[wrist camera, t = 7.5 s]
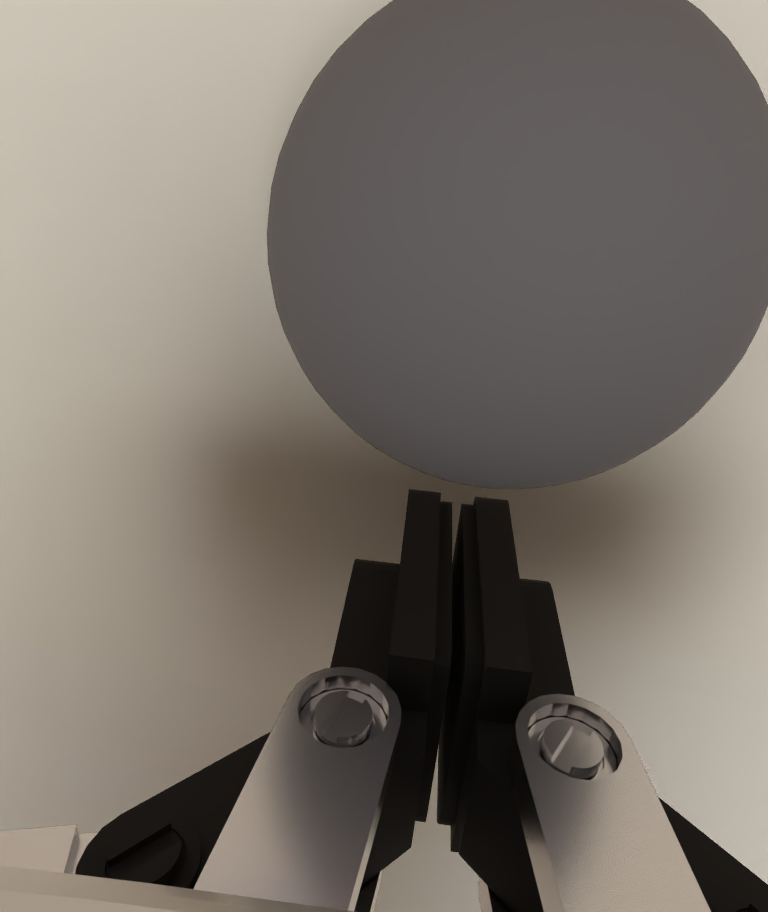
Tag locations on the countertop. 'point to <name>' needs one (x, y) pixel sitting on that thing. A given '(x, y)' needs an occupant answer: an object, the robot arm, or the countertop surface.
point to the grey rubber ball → (523, 231)
